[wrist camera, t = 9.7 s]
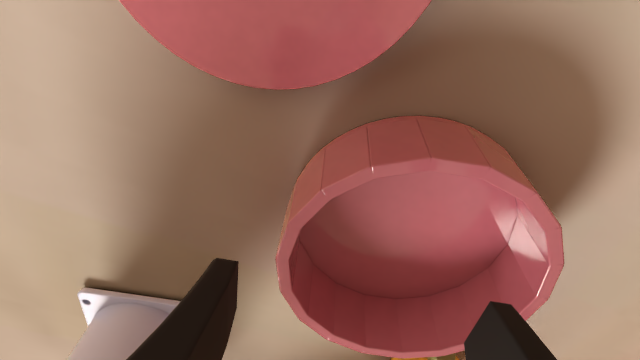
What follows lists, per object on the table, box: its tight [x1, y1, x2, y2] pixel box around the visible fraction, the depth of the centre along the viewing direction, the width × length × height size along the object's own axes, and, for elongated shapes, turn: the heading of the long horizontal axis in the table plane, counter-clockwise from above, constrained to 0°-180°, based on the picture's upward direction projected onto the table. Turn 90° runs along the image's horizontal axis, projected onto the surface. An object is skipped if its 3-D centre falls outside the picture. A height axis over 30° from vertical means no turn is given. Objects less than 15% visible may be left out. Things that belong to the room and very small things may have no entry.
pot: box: [275, 116, 564, 359], centre depth 18 cm, size 12×12×4 cm
